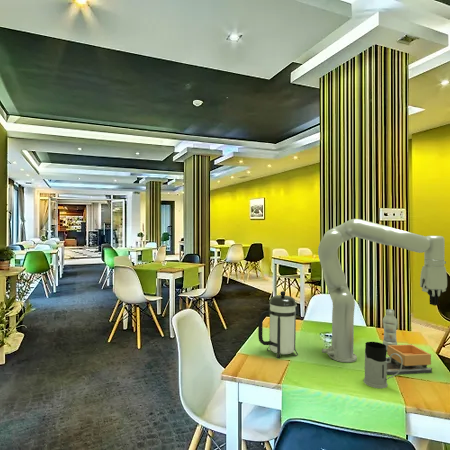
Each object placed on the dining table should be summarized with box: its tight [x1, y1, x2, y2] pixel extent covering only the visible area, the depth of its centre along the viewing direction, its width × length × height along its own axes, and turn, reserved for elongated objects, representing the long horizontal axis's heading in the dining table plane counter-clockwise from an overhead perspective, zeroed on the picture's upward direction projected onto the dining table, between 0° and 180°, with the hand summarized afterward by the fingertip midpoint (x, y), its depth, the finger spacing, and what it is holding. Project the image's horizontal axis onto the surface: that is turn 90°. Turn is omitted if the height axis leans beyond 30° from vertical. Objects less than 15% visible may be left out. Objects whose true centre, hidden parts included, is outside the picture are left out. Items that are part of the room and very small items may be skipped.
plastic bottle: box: [382, 308, 398, 351], centre depth 165 cm, size 6×7×20 cm
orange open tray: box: [386, 344, 432, 368], centre depth 146 cm, size 12×12×6 cm
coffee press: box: [257, 290, 299, 359], centre depth 159 cm, size 17×16×30 cm
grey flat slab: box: [386, 356, 433, 376], centre depth 146 cm, size 20×13×2 cm, turn 97°
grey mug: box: [363, 341, 403, 389], centre depth 129 cm, size 9×14×15 cm, turn 43°
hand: (433, 304), depth 148 cm, fingers closed
